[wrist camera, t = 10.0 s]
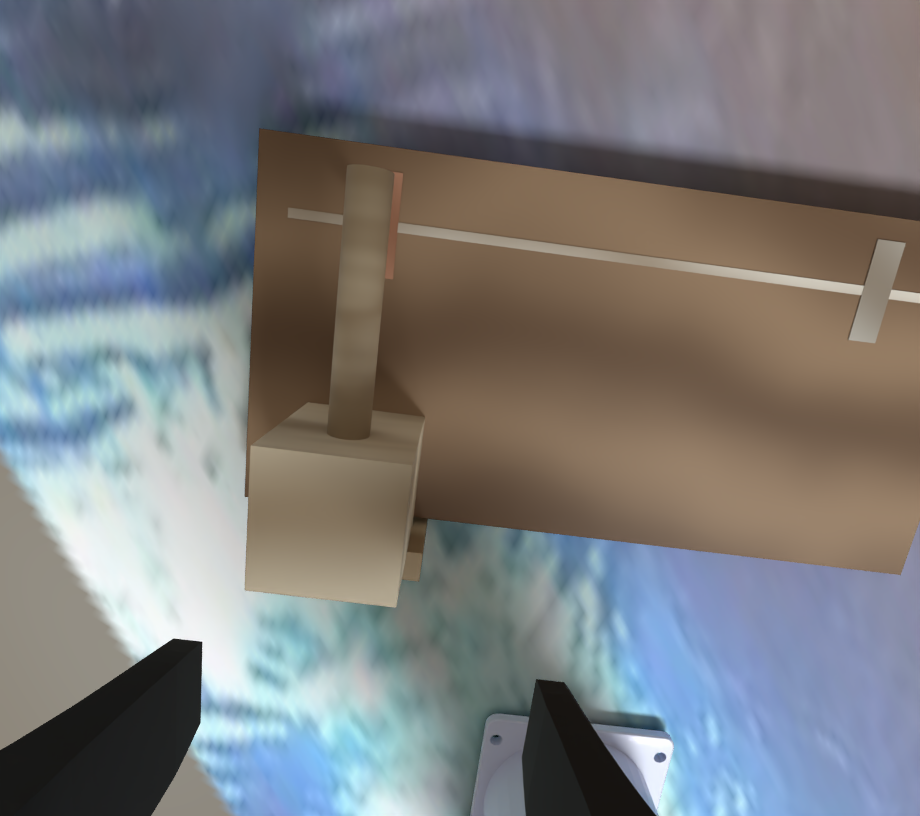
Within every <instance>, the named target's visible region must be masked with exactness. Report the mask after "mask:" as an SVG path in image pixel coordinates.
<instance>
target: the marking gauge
mask: <svg viewBox="0 0 920 816" xmlns="http://www.w3.org/2000/svg"><path fill="white" fill-rule="evenodd" d="M394 176H395V174H394V173H393V172H391V171H389V170H386V169H383V168H379V167H374V166H368V165H360V164H351V165H347V172H346V185H345V199H344V212H343V225H342V239H341V252H340V265H339V279H338V292H337V305H336V318H335V332H334V345H333V358H332V372H331V385H330V398H329V405H326V404H318V403H310V402H308V403H306V404H305V405H304V406H302V407H301V408H300V409H298V410H297V411H296V412H294V413H293V414H292V415H291V416H289V417H288V418H287V419H285V420H284V421H283V422H281V423H280V424H279V425H277V426H276V427H275V428H273V429H272V430H271V431H269V432H268V433H267V434H265V435H264V436H263V437H261V438H260V439H259V440H257V441H256V442H255V443H253V444H252V445H251V448H250V472H249V496H248V520H247V544H246V568H245V590H246V591H255V592H263V593H272V594H281V595H290V596H298V597H307V598H316V599H325V600H334V601H342V602H351V603H360V604H369V605H378V606H386V607H395V608H396V606H397V601H398V596H399V591H400V586H401V580H410V581H419V579H420V572H421V564H422V557H423V550H424V542H425V535H426V527H427V519H428V518H419V517H414V508H415V500H416V491H417V483H418V474H419V466H420V457H421V449H422V440H423V432H424V423H425V417H422V416H414V415H406V414H398V413H390V412H382V411H374V410H372V409H373V398H374V387H375V377H376V366H377V356H378V345H379V334H380V324H381V313H382V303H383V292H384V282H385V271H386V260H387V250H388V239H389V229H390V218H391V207H392V197H393V186H394Z"/></svg>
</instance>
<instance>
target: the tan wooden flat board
mask: <svg viewBox="0 0 920 816" xmlns="http://www.w3.org/2000/svg"><path fill="white" fill-rule="evenodd" d="M351 164H360V165H368V166H374V167H379V168H383V169H386V170H389V171H391V172H393V173H394V174H395V176H394V186H393V197H392V207H391V218H390V229H389V239H388V250H387V260H386V271H385V282H384V292H383V303H382V313H381V324H380V334H379V345H378V356H377V366H376V377H375V387H374V398H373V409H372V410H374V411H382V412H390V413H398V414H406V415H414V416H422V417H425V423H424V432H423V440H422V449H421V457H420V466H419V474H418V483H417V491H416V500H415V508H414V517H419V518H428V519H436V520H444V521H453V522H461V523H469V524H478V525H486V526H495V527H503V528H511V529H520V530H528V531H537V532H545V533H553V534H562V535H570V536H579V537H587V538H595V539H604V540H612V541H621V542H629V543H637V544H646V545H654V546H663V547H671V548H679V549H688V550H696V551H705V552H713V553H721V554H730V555H738V556H747V557H755V558H763V559H772V560H780V561H789V562H797V563H805V564H814V565H822V566H831V567H839V568H847V569H856V570H864V571H872V572H881V573H889V574H898V575H901V572H902V569H903V567H904V564H905V561H906V558H907V555H908V552H909V550H910V547H911V544H912V541H913V538H914V535H915V532H916V530H917V527H918V524H919V521H920V221H915V220H908V219H901V218H894V217H887V216H880V215H872V214H865V213H858V212H851V211H844V210H837V209H830V208H823V207H815V206H808V205H801V204H794V203H787V202H780V201H773V200H766V199H758V198H751V197H744V196H737V195H730V194H723V193H716V192H709V191H701V190H694V189H687V188H680V187H673V186H666V185H659V184H652V183H644V182H637V181H630V180H623V179H616V178H609V177H602V176H595V175H588V174H580V173H573V172H566V171H559V170H552V169H545V168H538V167H531V166H523V165H516V164H509V163H502V162H495V161H488V160H481V159H474V158H466V157H459V156H452V155H445V154H438V153H431V152H424V151H417V150H409V149H402V148H395V147H388V146H381V145H374V144H367V143H360V142H352V141H345V140H338V139H331V138H324V137H317V136H310V135H303V134H295V133H288V132H281V131H274V130H267V129H260V128H259V151H258V177H257V202H256V227H255V252H254V277H253V302H252V327H251V352H250V378H249V403H248V428H247V453H246V478H245V497H248V496H249V472H250V448H251V445H252V444H253V443H255V442H256V441H257V440H259V439H260V438H261V437H263V436H264V435H265V434H267V433H268V432H269V431H271V430H272V429H273V428H275V427H276V426H277V425H279V424H280V423H281V422H283V421H284V420H285V419H287V418H288V417H289V416H291V415H292V414H293V413H294V412H296V411H297V410H298V409H300V408H301V407H302V406H304V405H305V404H306V403H308V402H310V403H318V404H326V405H329V398H330V385H331V372H332V358H333V345H334V332H335V318H336V305H337V292H338V279H339V265H340V252H341V239H342V225H343V212H344V199H345V185H346V172H347V165H351Z"/></svg>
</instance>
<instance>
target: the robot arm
mask: <svg viewBox="0 0 920 816" xmlns="http://www.w3.org/2000/svg"><path fill="white" fill-rule="evenodd" d="M201 676H202V642H199V641H190V640H181V639H172V640H171V641H169V642H168V643H166V644H165V645H163V646H162V647H160V648H159V649H157V650H156V651H154V652H153V653H151V654H150V655H148V656H147V657H145V658H144V659H142V660H141V661H139V662H138V663H137V664H135V665H134V666H132V667H131V668H129V669H128V670H126V671H125V672H124V673H122V674H120V675H119V676H117V677H116V678H114V679H113V680H112V681H110V682H109V683H107V684H105V685H104V686H102V687H101V688H100V689H98V690H96V691H95V692H93V693H92V694H90V695H89V696H87V697H86V698H84V699H83V700H81V701H80V702H78V703H77V704H75V705H74V706H72V707H71V708H69V709H67V710H66V711H64V712H62V713H61V714H59V715H58V716H56V717H54V718H53V719H51V720H49V721H48V722H46V723H45V724H43V725H41V726H40V727H38V728H37V729H35V730H33V731H32V732H30V733H28V734H27V735H25V736H23V737H22V738H20V739H19V740H17V741H15V742H14V743H12V744H10V745H9V746H7V747H5V748H3V749H2V750H0V816H151V815H152V813H153V812H154V810H155V808H156V807H157V805H158V803H159V802H160V800H161V798H162V797H163V795H164V793H165V792H166V790H167V789H168V787H169V785H170V784H171V782H172V780H173V778H174V777H175V775H176V773H177V771H178V769H179V767H180V765H181V763H182V761H183V759H184V757H185V755H186V753H187V751H188V748H189V746H190V744H191V742H192V740H193V738H194V735H195V733H196V731H197V729H198V727H199V725H200V718H201ZM493 735H499V737H492V736H493ZM673 749H674V744H673V741H672V739H671V737H670V735H669V734H668V733H666V732H663V731H656V730H647V729H638V728H628V727H619V726H610V725H601V724H591V723H590V722H589V720H588V719H587V717H586V715H585V714H584V712H583V711H582V709H581V708H580V706H579V704H578V703H577V701H576V700H575V698H574V696H573V695H572V693H571V692H570V690H569V688H568V687H567V686H566V684H565V683H564V682H556V681H547V680H538V679H536V683H535V689H534V694H533V699H532V705H531V710H530V716H529V717H527V716H517V715H508V714H493V715H490V716H489V717H488V718H487V720H486V723H485V729H484V735H483V741H482V747H481V753H480V759H479V765H478V771H477V777H476V783H475V789H474V795H473V801H472V807H471V813H470V816H659V815H658V813H657V809H658V805H659V801H660V798H661V794H662V790H663V786H664V783H665V779H666V775H667V771H668V768H669V764H670V760H671V756H672V753H673ZM660 752H661V753H660ZM657 753H660V754H657ZM655 754H656V755H655Z"/></svg>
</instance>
